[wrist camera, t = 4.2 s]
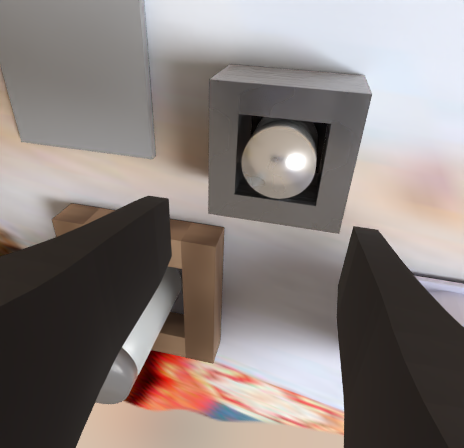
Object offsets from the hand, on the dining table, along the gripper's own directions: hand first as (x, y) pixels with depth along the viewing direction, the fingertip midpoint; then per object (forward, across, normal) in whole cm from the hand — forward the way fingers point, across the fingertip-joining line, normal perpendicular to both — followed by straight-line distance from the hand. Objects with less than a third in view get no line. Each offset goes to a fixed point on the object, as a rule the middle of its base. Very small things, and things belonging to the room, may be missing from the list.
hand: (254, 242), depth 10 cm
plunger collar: (+9, 0, 0) cm, 9 cm away
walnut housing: (+9, +8, +11) cm, 17 cm away
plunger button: (+9, 0, 0) cm, 9 cm away
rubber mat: (+9, +11, -2) cm, 15 cm away
